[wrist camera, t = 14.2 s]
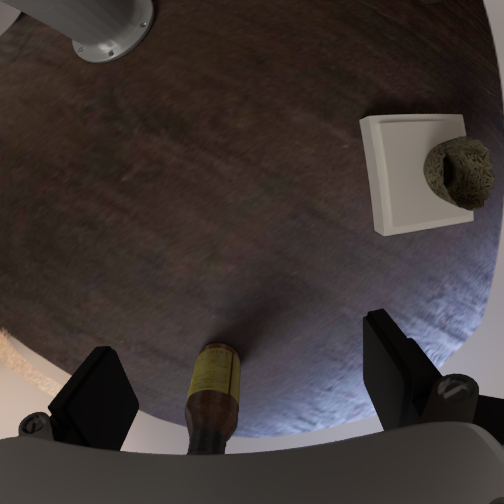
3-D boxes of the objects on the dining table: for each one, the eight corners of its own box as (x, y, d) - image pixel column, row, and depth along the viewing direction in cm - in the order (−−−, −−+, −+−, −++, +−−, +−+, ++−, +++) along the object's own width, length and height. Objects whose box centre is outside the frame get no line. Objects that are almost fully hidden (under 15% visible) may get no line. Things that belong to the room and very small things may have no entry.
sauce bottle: (189, 357, 43) (153, 462, 24) (218, 332, 42) (192, 441, 23) (222, 383, 44) (205, 491, 25) (252, 360, 43) (247, 472, 24)
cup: (460, 151, 31) (500, 151, 23) (449, 207, 33) (488, 219, 25) (412, 131, 30) (449, 124, 23) (401, 191, 32) (436, 199, 25)
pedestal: (359, 120, 34) (370, 115, 30) (449, 117, 33) (465, 114, 29) (374, 230, 38) (386, 237, 34) (459, 216, 37) (475, 221, 33)
